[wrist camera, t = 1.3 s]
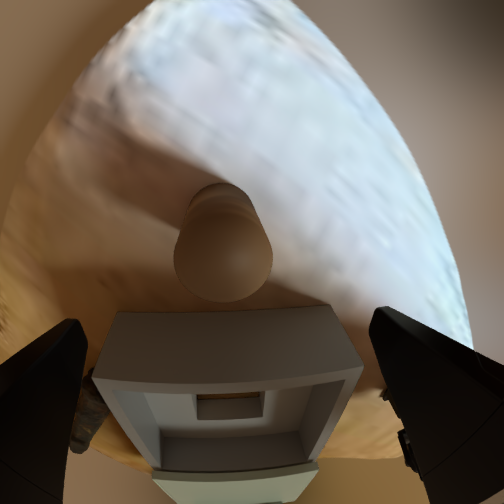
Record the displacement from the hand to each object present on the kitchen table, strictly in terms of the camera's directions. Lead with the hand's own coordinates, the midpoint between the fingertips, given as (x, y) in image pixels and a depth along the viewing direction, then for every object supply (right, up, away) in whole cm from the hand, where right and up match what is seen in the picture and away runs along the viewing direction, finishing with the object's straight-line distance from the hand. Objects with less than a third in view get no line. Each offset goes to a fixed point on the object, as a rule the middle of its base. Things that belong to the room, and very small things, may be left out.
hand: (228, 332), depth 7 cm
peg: (-1, +4, +9) cm, 10 cm away
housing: (-2, -9, +15) cm, 18 cm away
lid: (-1, -26, +16) cm, 30 cm away
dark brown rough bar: (-18, -16, +17) cm, 29 cm away
